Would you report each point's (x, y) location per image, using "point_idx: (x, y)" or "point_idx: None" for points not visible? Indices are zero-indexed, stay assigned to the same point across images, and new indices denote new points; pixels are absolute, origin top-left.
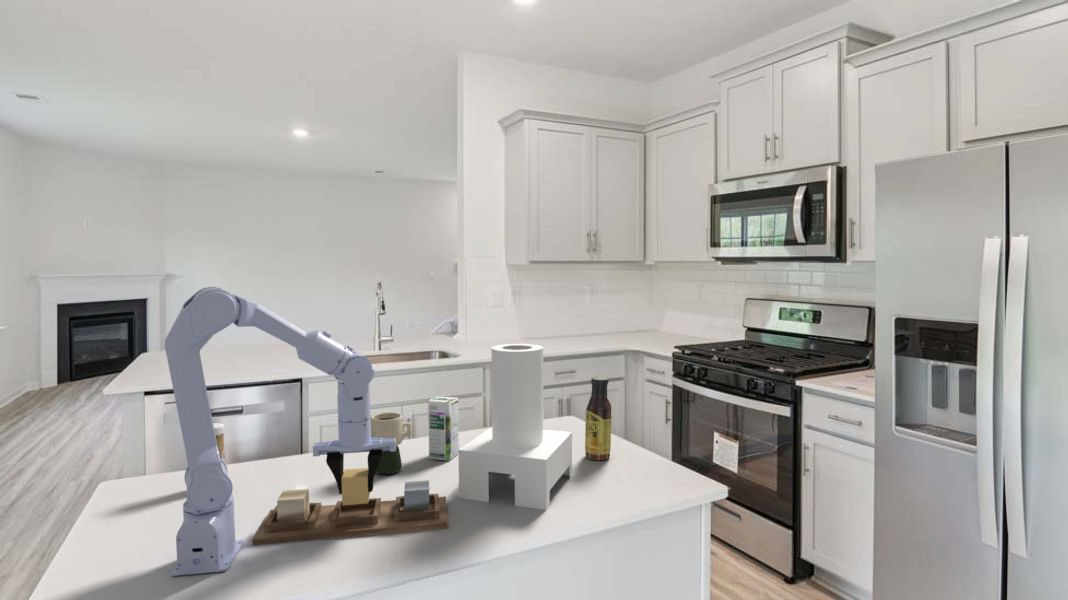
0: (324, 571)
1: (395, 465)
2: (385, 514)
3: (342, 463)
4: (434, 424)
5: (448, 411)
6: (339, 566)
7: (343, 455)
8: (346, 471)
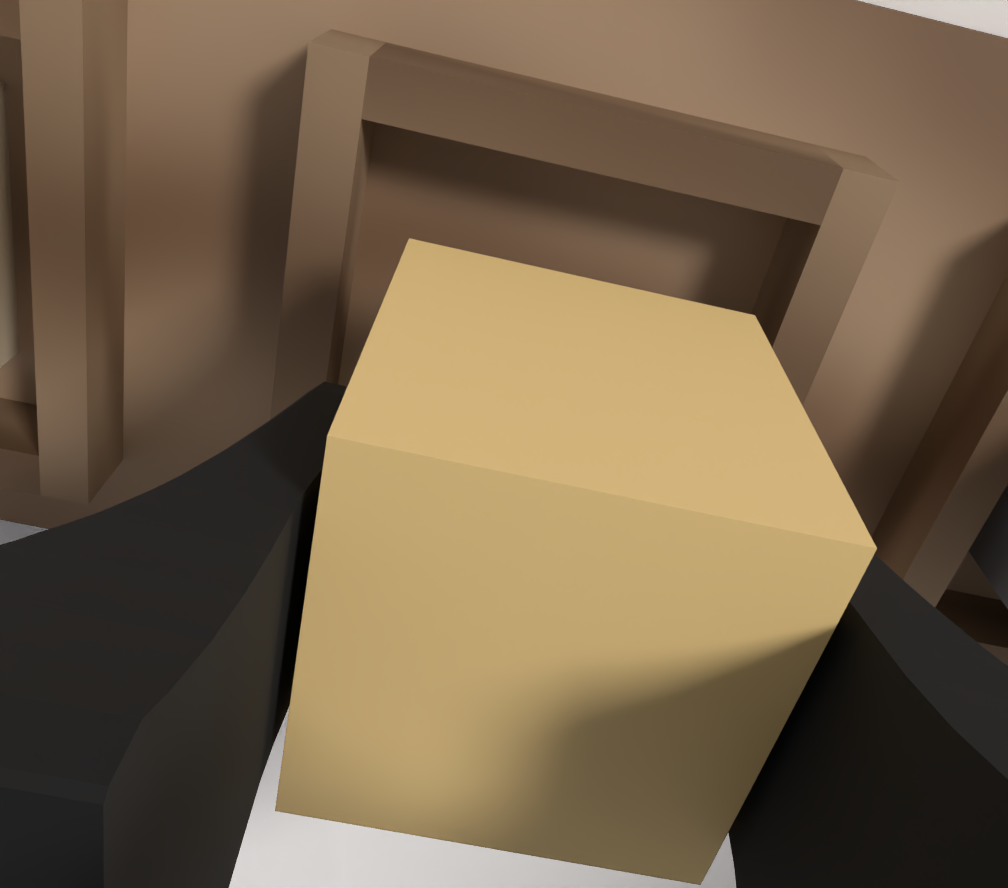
0: (282, 873)
1: None
2: (825, 417)
3: (223, 760)
4: None
5: None
6: (365, 861)
7: (184, 701)
8: (361, 558)
